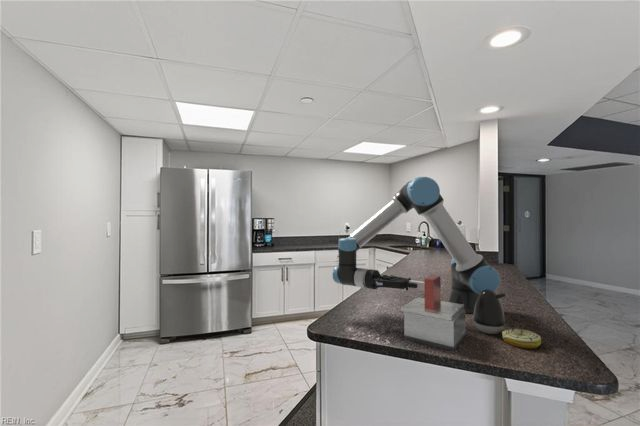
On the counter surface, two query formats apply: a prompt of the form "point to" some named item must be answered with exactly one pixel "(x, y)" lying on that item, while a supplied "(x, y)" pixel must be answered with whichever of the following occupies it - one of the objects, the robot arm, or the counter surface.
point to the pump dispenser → (489, 312)
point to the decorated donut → (521, 338)
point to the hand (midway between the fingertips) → (427, 286)
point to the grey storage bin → (435, 329)
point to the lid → (433, 302)
